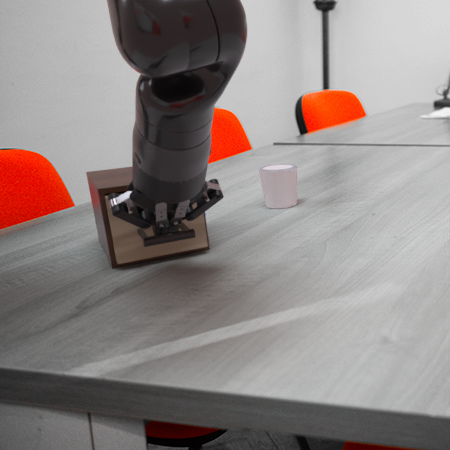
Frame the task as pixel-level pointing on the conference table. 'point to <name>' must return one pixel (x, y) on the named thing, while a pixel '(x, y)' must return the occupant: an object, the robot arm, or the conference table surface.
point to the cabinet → (98, 187)
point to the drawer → (154, 238)
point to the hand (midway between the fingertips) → (164, 235)
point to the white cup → (279, 185)
